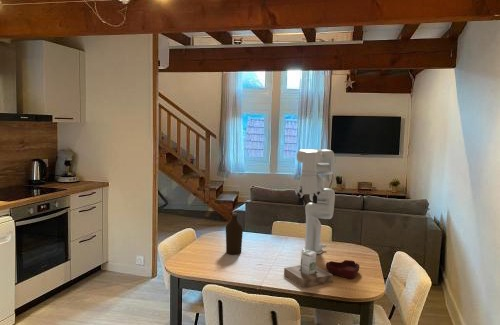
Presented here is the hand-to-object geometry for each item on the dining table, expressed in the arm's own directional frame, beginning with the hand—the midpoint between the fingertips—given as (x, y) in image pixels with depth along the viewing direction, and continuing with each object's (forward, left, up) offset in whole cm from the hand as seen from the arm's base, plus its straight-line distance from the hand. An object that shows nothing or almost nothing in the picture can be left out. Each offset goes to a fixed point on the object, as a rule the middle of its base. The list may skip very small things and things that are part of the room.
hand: (307, 203), depth 219 cm
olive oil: (+27, -38, -36) cm, 59 cm away
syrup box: (+9, +15, -36) cm, 40 cm away
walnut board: (+9, +15, -36) cm, 40 cm away
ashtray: (-14, +18, -37) cm, 43 cm away
